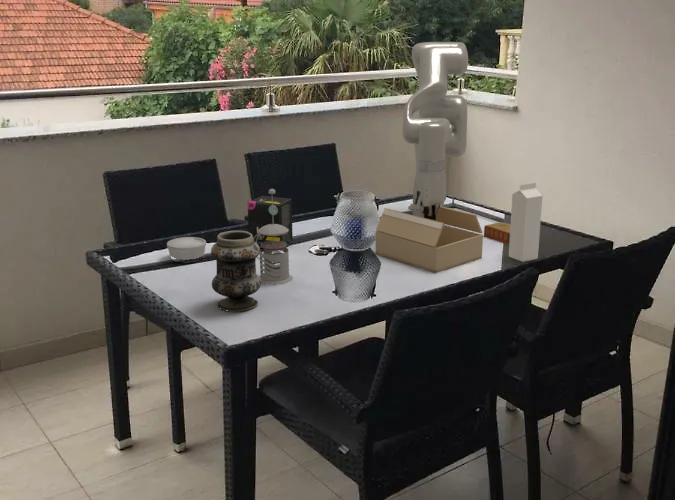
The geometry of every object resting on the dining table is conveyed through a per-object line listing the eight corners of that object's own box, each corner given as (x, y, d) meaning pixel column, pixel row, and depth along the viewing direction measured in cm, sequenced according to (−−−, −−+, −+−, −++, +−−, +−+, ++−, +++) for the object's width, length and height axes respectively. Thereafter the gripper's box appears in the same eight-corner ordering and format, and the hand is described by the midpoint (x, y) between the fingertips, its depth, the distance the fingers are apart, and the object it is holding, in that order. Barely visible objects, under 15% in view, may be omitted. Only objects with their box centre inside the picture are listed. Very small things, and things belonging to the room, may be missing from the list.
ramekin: (214, 258, 223) (213, 241, 221) (183, 267, 215) (182, 250, 213) (191, 251, 230) (190, 234, 229) (160, 259, 222) (159, 242, 221)
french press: (278, 287, 198) (275, 194, 191) (244, 280, 204) (239, 189, 197) (300, 276, 206) (298, 187, 199) (266, 269, 212) (262, 182, 205)
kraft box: (375, 253, 226) (375, 231, 224) (421, 240, 238) (421, 219, 236) (435, 272, 208) (436, 248, 206) (481, 257, 221) (483, 234, 219)
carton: (501, 233, 246) (502, 221, 245) (539, 245, 234) (540, 232, 232) (483, 237, 242) (484, 224, 241) (520, 250, 229) (521, 236, 228)
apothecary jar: (271, 306, 185) (268, 236, 180) (227, 317, 179) (223, 245, 173) (247, 292, 195) (244, 225, 189) (204, 302, 188) (200, 233, 183)
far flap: (415, 201, 232) (416, 200, 232) (422, 218, 236) (424, 217, 236) (474, 215, 215) (476, 214, 215) (481, 233, 219) (482, 232, 219)
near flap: (444, 223, 207) (443, 222, 207) (435, 247, 207) (434, 246, 206) (385, 208, 224) (384, 207, 223) (377, 230, 223) (375, 229, 223)
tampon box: (248, 248, 232) (246, 201, 228) (262, 240, 241) (260, 195, 236) (280, 251, 228) (278, 204, 224) (293, 243, 237) (292, 197, 232)
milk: (537, 259, 220) (544, 184, 213) (522, 262, 217) (527, 187, 210) (523, 253, 225) (528, 180, 218) (507, 256, 222) (512, 182, 215)
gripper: (439, 160, 223) (437, 220, 228) (403, 167, 214) (402, 229, 219) (458, 164, 217) (456, 225, 223) (423, 171, 208) (421, 235, 214)
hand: (429, 227), depth 221 cm, fingers closed
